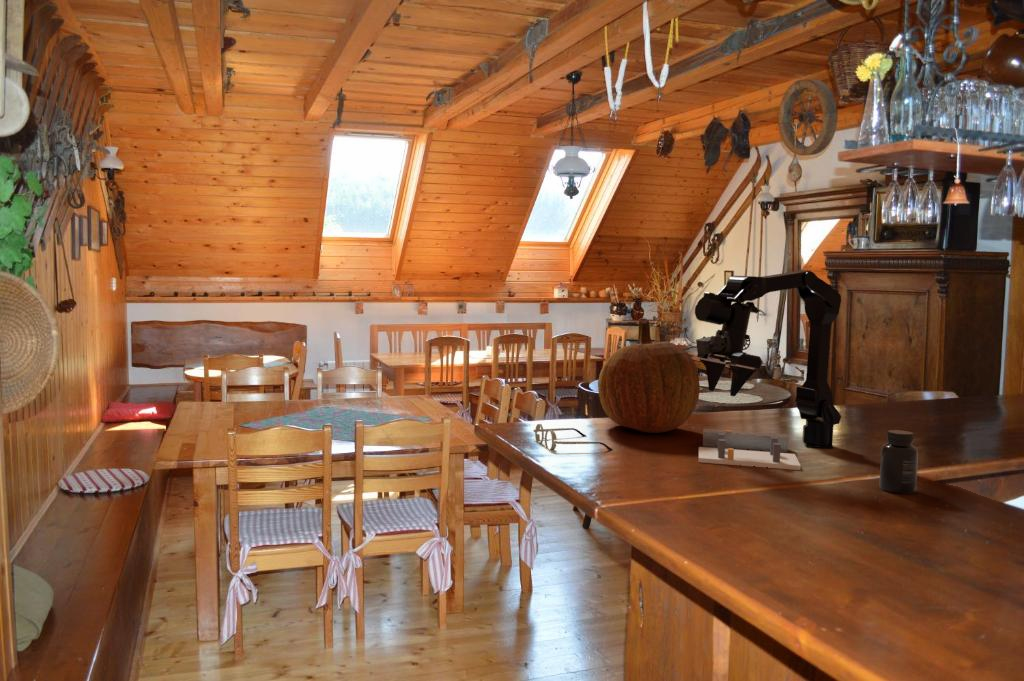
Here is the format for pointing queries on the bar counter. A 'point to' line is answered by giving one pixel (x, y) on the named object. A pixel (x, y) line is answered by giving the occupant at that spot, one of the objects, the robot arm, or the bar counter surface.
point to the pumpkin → (649, 384)
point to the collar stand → (749, 456)
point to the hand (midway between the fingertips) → (721, 393)
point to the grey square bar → (744, 439)
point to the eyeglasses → (556, 438)
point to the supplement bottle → (899, 463)
